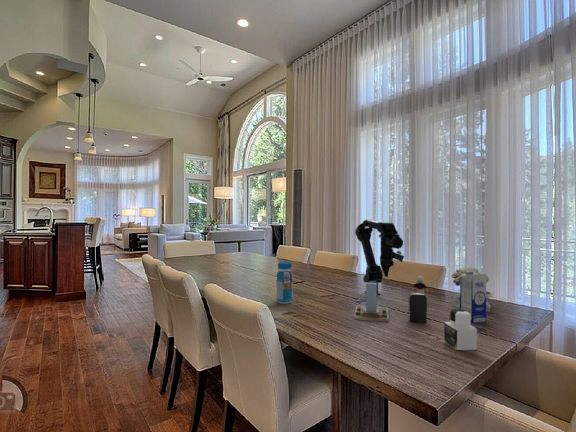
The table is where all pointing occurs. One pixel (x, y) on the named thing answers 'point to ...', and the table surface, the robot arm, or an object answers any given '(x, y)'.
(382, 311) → the keyhole track
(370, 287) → the tall pale blue pillar
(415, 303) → the battery charger
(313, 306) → the table surface
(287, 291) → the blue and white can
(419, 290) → the grandmother figurine
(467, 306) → the milk carton
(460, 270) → the cherub figurine
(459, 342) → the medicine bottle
